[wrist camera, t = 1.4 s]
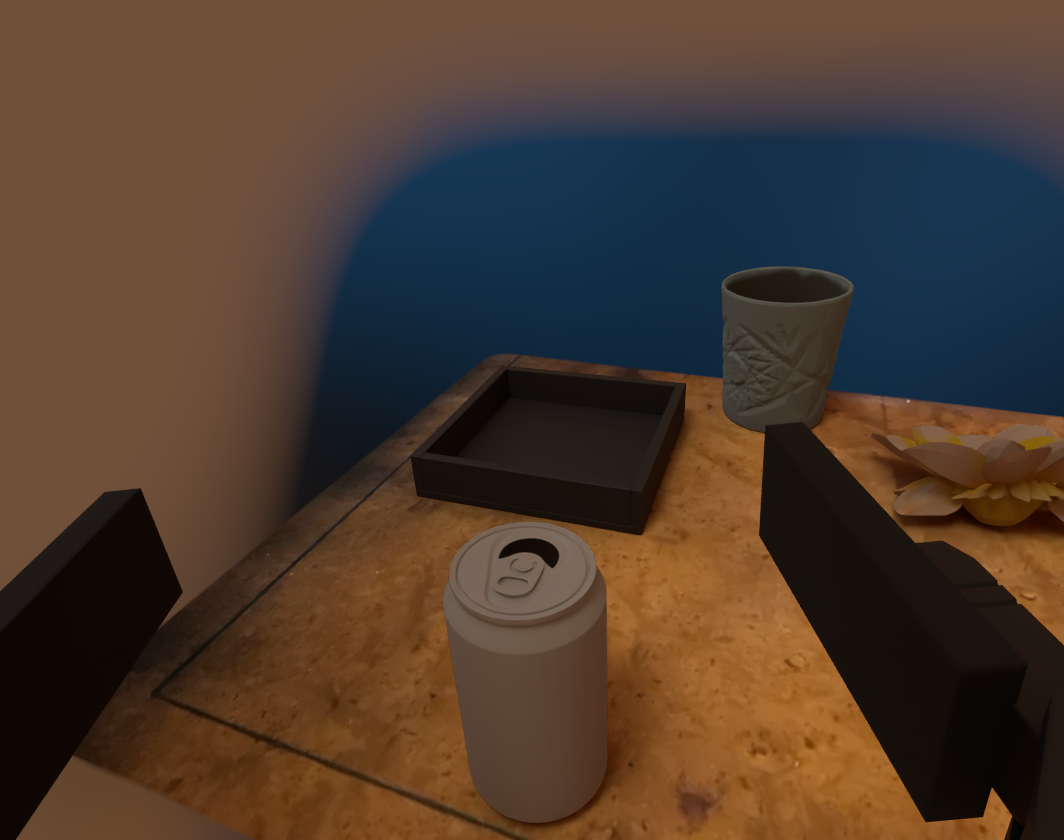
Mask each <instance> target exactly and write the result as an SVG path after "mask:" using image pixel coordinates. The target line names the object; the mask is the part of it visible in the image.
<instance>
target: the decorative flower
mask: <svg viewBox="0 0 1064 840" xmlns="http://www.w3.org/2000/svg"><path fill="white" fill-rule="evenodd" d="M911 432H912V437H913V438H914V439H915V441H916V442H917V443H915V442H913V441H912V440H910V439H909V438H905V437H901V436H897V435H893V434H892V435H888V436H885V437H884V436H881V435H878V434H872V436H871V437H872V438H873V439H875V440H876V441H878V442H879V443H881V444H882V445H884V446H885V447H886V448H887V449H889V450H890V451H891V452H893V453H894V454H896V455H897V456H899V457H900V458H902V459H904V460H906V461H908V462H910V463H912V464H914V465H917V466H919V467H920V468H922V469H924V470H926V471H928V473H930V474H931V475H933V476H930V477H926V478H923V479H920V480H917V481H915V482H912V483H910V484H908V485H906V486H904V487H903V488H901V489H898V490H896V491H894V493H895V494H897V495H898V496H899V497H898V498H897V500H896V501H895V503H894V507H893V508H894V509H895V510H896V512H897V513H899V514H901V515H948V514H951V513H953V512H955V511H956V510H958V509H959V508H960V507H961V506H962V505H963V506H964V507H965V508H966V510H967V511H968V512H969V513H970V514H971V515H972V516H973V517H975V518H976V519H977V520H978V521H980V522H981V523H984V524H989V525H993V526H1013V525H1015V524H1017V523H1019V522H1021V521H1023V520H1024V519H1026V518H1027V517H1028V516H1029V515H1031V514H1032V513H1033V512H1034V511H1035V510H1036V509H1037V508H1038V507H1039V506H1040V505H1041V506H1043V507H1046V508H1049V509H1050V510H1051V512H1052V513H1054V514H1055V515H1056V516H1057V517H1058V518H1059V519H1060V520H1062V521H1063V522H1064V439H1063V438H1059V437H1053V435H1052V434H1051V432H1050V431H1049V430H1048V429H1047V428H1046V427H1040V426H1035V425H1029V424H1017V425H1012V426H1008V427H1007V428H1005V429H1003V430H1002V431H1000V432H998V433H997V434H995V436H994V438H991V437H989V436H986V435H962V436H955V435H954V434H953V433H952V432H951V431H949V430H946V429H944V428H941V427H938V426H933V425H920V426H916V427H913V429H912V431H911Z"/></svg>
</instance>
